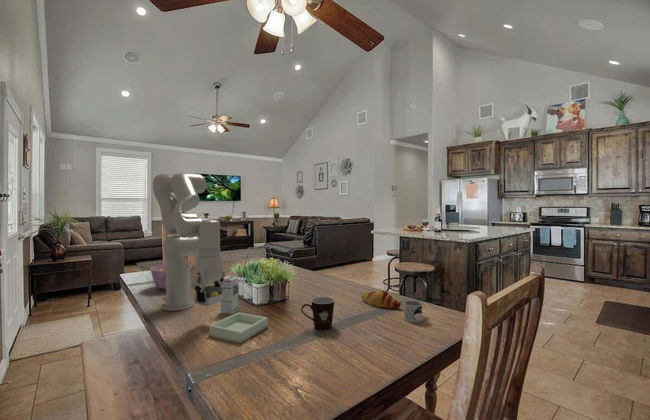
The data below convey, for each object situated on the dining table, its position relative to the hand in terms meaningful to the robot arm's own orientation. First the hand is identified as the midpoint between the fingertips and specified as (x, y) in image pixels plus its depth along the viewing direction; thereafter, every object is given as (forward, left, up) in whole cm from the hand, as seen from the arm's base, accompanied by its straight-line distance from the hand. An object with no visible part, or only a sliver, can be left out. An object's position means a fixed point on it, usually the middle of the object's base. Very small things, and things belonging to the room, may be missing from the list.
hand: (208, 298), depth 121 cm
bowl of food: (-57, +30, -10) cm, 65 cm away
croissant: (+53, +50, -10) cm, 74 cm away
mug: (+70, +39, -10) cm, 81 cm away
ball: (0, +1, 0) cm, 2 cm away
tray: (+15, 0, -10) cm, 18 cm away
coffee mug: (+39, +16, -10) cm, 43 cm away
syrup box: (-3, +15, -10) cm, 18 cm away
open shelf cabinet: (0, 0, -1) cm, 1 cm away
